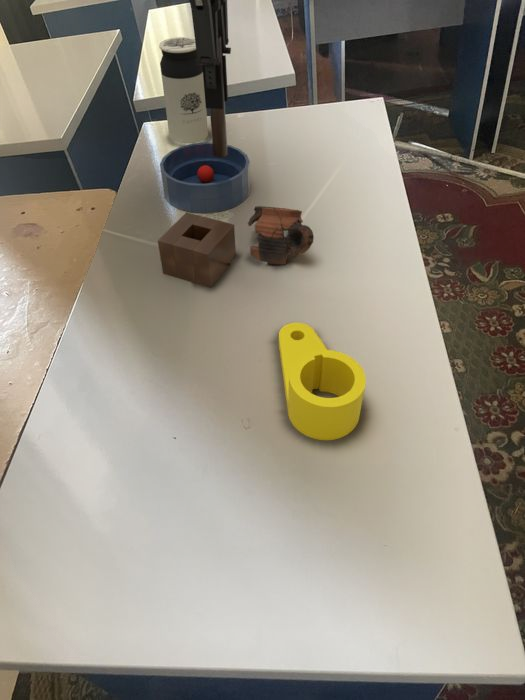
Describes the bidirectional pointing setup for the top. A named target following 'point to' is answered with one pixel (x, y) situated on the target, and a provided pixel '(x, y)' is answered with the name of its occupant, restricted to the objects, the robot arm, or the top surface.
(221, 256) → the holder
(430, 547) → the top surface
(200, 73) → the travel mug
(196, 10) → the robot arm
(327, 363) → the crank
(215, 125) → the stick
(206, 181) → the ball
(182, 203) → the bowl
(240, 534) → the top surface
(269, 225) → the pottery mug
